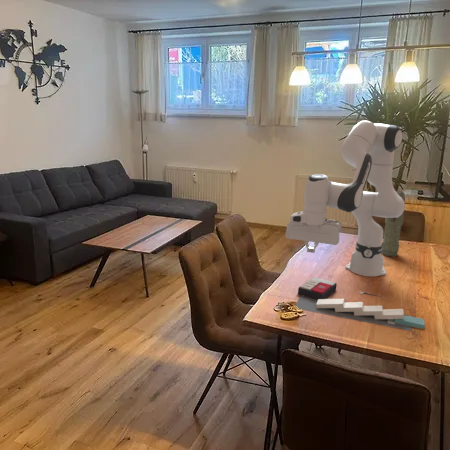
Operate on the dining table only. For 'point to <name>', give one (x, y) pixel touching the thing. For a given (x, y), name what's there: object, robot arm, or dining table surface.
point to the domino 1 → (330, 303)
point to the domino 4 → (391, 314)
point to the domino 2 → (351, 307)
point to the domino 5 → (411, 322)
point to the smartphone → (369, 294)
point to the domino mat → (346, 314)
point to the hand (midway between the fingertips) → (310, 252)
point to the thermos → (392, 233)
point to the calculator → (317, 288)
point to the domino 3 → (370, 310)
